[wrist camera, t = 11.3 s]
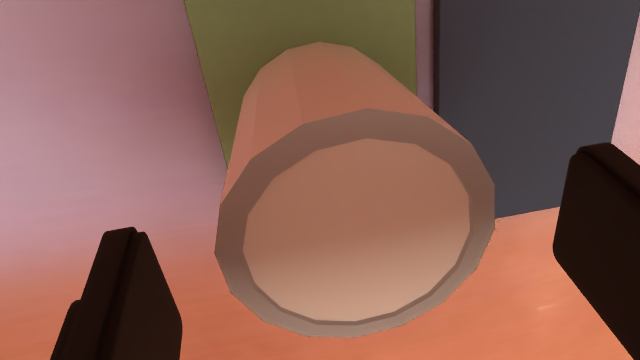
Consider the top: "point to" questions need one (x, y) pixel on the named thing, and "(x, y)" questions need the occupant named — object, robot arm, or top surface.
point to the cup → (347, 198)
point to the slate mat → (531, 86)
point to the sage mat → (292, 42)
